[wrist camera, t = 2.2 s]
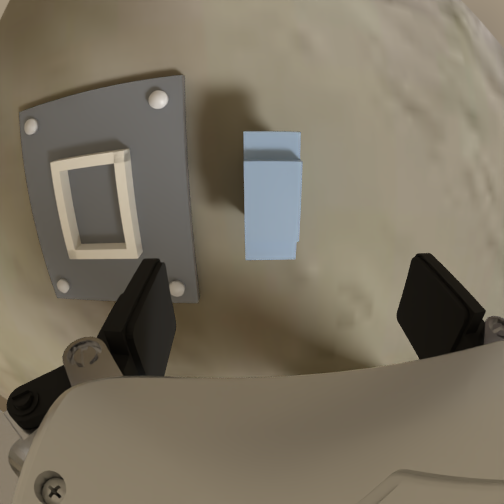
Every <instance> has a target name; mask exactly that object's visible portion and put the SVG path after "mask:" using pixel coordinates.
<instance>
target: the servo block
mask: <svg viewBox="0 0 504 504" xmlns="http://www.w3.org/2000/svg"><path fill="white" fill-rule="evenodd" d="M243 134H244V210H245V255H246V260H283V259H295V258H296V242H299V229H300V210H301V188H302V161H301V160H300V138H301V132H291V131H244V132H243Z"/></svg>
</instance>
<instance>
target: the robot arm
mask: <svg viewBox="0 0 504 504" xmlns="http://www.w3.org/2000/svg"><path fill="white" fill-rule="evenodd" d="M485 312H486V311H485V309H484V308H483V307H482V306H481V305H480V304H479V303H478V302H477V301H476V299H475V298H474V297H473V296H472V295H471V294H470V293H469V292H468V291H467V290H466V289H465V288H464V286H463V285H462V284H461V283H460V282H459V281H458V280H457V279H456V278H455V277H454V276H453V275H452V274H451V273H450V272H449V271H448V270H447V269H446V268H445V267H444V266H443V265H442V264H441V263H440V262H439V261H438V260H437V259H436V258H435V257H434V256H433V255H432V254H430V253H419V254H416V256H415V257H414V258H412V260H411V264H410V268H409V272H408V276H407V280H406V283H405V287H404V290H403V294H402V297H401V301H400V304H399V308H398V311H397V320H398V322H399V324H400V326H401V327H402V329H403V331H404V333H405V334H406V336H407V338H408V339H409V341H410V343H411V345H412V346H413V348H414V350H415V352H416V354H417V355H418V357H419V359H420V360H415V361H409V362H403V363H398V364H392V365H385V366H379V367H372V368H364V369H357V370H349V371H340V372H330V373H319V374H307V375H293V376H276V377H248V378H205V377H166V376H164V374H165V370H166V366H167V362H168V358H169V354H170V350H171V346H172V342H173V338H174V335H175V331H176V320H175V315H174V310H173V304H172V299H171V293H170V288H169V282H168V276H167V270H166V265H165V263H164V262H161V261H160V259H159V258H145V259H143V260H142V262H141V263H140V265H139V267H138V268H137V270H136V272H135V274H134V275H133V277H132V279H131V280H130V282H129V284H128V286H127V287H126V289H125V291H124V293H122V294H121V295H120V296H119V298H118V299H117V301H116V303H115V305H114V306H113V308H112V310H111V312H110V314H109V315H108V317H107V319H106V321H105V323H104V325H103V327H102V328H101V330H100V332H99V334H98V336H97V338H95V337H84V338H80V339H77V340H76V341H74V342H72V343H71V344H70V345H69V346H67V348H66V349H65V351H64V353H63V356H62V358H63V364H64V365H63V366H61V367H59V368H57V369H55V370H53V371H51V372H49V373H46V374H44V375H42V376H40V377H38V378H36V379H34V380H32V381H30V382H28V383H26V384H24V385H22V386H20V387H18V388H17V389H15V390H14V391H13V392H12V393H11V394H10V396H9V398H8V401H7V411H5V412H4V413H3V412H2V410H0V504H504V319H503V318H501V317H498V316H490V317H488V318H487V319H486V321H485V322H484V321H483V320H482V319H483V316H484V314H485Z"/></svg>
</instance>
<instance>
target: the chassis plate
mask: <svg viewBox="0 0 504 504" xmlns="http://www.w3.org/2000/svg"><path fill="white" fill-rule="evenodd" d="M19 119H20V134H21V144H22V153H23V161H24V169H25V175H26V182H27V187H28V193H29V198H30V203H31V208H32V213H33V217H34V222H35V226H36V230H37V234H38V238H39V242H40V245H41V249H42V253H43V256H44V259H45V263H46V266H47V269H48V272H49V275H50V279H51V282H52V285H53V287H54V290H55V293H56V296H57V298H66V299H83V300H101V301H117V299H118V298H119V296H120V295H121V294H122V293H124V291H125V289H126V287H127V286H128V284H129V282H130V280H131V279H132V277H133V275H134V274H135V272H136V270H137V268H138V267H139V265H140V263H141V262H142V260H143V259H145V258H159V259H160V261H161V262H164V263H165V265H166V270H167V276H168V282H169V288H170V293H171V299H172V303H199V299H200V295H199V287H198V278H197V269H196V259H195V249H194V239H193V228H192V216H191V203H190V190H189V175H188V158H187V138H186V112H185V76H183V75H176V76H168V77H160V78H153V79H146V80H140V81H134V82H128V83H123V84H118V85H113V86H108V87H103V88H99V89H94V90H90V91H86V92H82V93H78V94H75V95H71V96H67V97H64V98H60V99H57V100H54V101H50V102H47V103H44V104H41V105H38V106H35V107H32V108H29V109H27V110H24V111H21V112H19Z"/></svg>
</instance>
